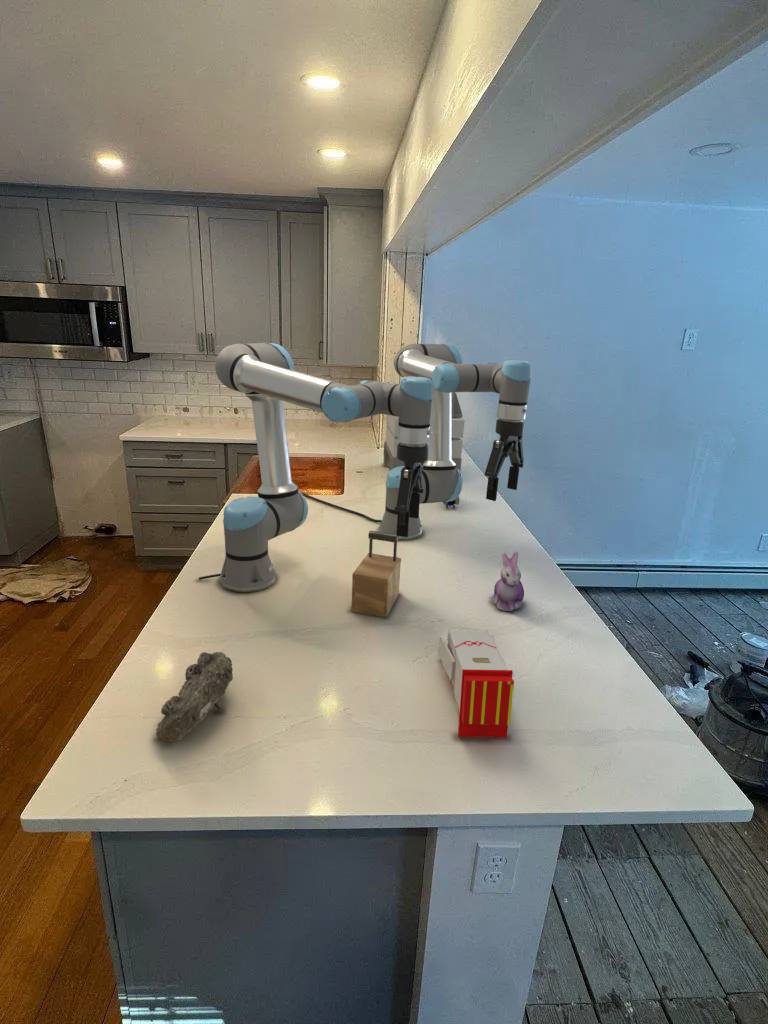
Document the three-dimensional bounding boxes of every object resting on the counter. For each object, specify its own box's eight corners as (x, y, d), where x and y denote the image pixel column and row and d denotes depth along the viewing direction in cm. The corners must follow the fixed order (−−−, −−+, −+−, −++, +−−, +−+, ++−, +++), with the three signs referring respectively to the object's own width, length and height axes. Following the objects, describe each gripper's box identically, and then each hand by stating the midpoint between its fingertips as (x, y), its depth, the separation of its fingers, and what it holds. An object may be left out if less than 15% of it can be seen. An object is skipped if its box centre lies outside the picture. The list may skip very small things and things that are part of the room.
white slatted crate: (382, 463, 289) (386, 382, 275) (445, 464, 293) (451, 384, 279) (390, 482, 257) (394, 392, 243) (460, 483, 261) (468, 394, 247)
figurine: (506, 615, 149) (513, 563, 144) (482, 598, 157) (488, 548, 152) (534, 608, 153) (541, 558, 148) (509, 592, 161) (516, 543, 156)
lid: (368, 556, 157) (369, 527, 154) (401, 561, 155) (402, 532, 152) (352, 577, 145) (353, 546, 142) (387, 583, 142) (389, 552, 139)
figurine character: (459, 513, 226) (454, 497, 240) (461, 496, 223) (456, 481, 236) (442, 513, 226) (439, 497, 239) (444, 496, 222) (440, 480, 236)
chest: (366, 588, 160) (367, 557, 157) (398, 593, 158) (400, 562, 155) (351, 611, 148) (352, 577, 145) (386, 617, 146) (387, 583, 142)
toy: (488, 613, 130) (523, 677, 101) (484, 667, 133) (517, 744, 104) (435, 612, 130) (455, 676, 101) (432, 666, 133) (451, 743, 103)
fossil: (183, 653, 120) (233, 621, 115) (215, 683, 122) (265, 653, 117) (132, 735, 100) (190, 701, 95) (171, 768, 103) (229, 737, 98)
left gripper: (418, 457, 123) (412, 546, 130) (436, 434, 146) (431, 512, 153) (385, 453, 125) (381, 542, 132) (408, 432, 148) (403, 508, 155)
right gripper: (503, 428, 142) (494, 508, 149) (541, 416, 161) (531, 487, 168) (476, 423, 146) (468, 501, 153) (516, 412, 165) (508, 482, 172)
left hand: (408, 526), depth 142 cm, fingers open, 13 cm apart
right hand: (501, 494), depth 160 cm, fingers open, 13 cm apart
